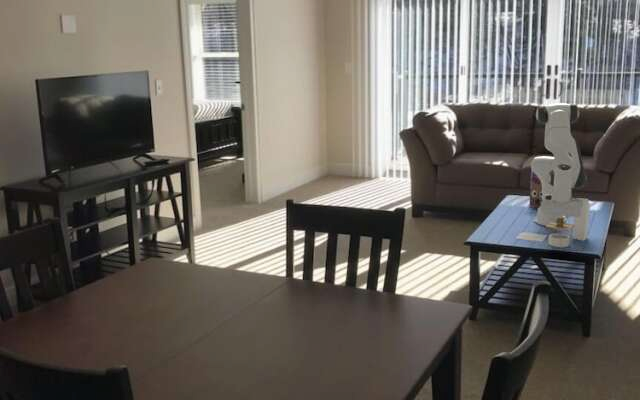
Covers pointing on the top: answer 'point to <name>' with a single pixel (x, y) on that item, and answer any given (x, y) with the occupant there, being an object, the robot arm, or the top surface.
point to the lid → (559, 226)
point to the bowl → (559, 240)
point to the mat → (531, 236)
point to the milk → (582, 222)
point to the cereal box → (535, 191)
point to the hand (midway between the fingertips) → (560, 223)
